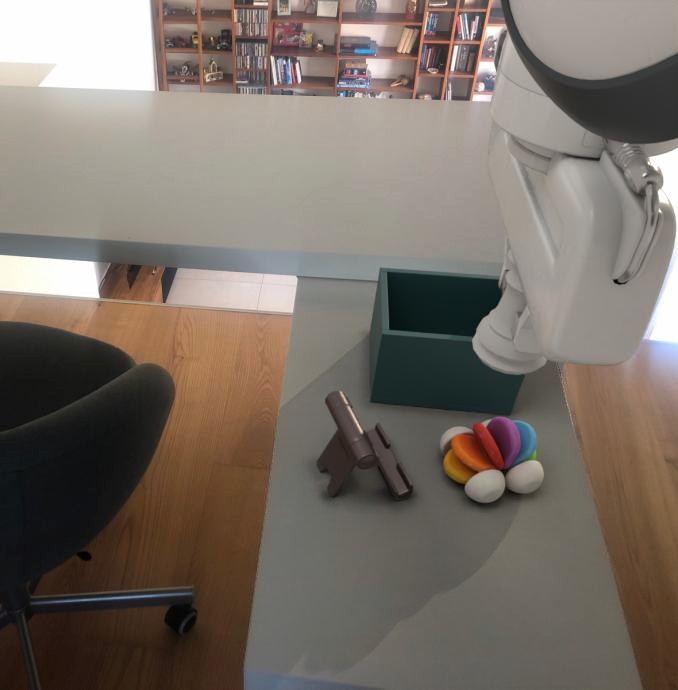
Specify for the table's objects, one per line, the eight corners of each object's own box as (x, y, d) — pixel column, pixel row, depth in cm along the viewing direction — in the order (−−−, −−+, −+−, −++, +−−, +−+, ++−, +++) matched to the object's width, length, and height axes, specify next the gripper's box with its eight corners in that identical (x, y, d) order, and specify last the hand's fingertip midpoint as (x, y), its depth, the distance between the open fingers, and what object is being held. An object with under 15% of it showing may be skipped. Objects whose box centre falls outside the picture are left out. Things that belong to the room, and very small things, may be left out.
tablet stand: (412, 499, 70) (427, 444, 64) (338, 515, 68) (347, 460, 63) (377, 436, 76) (388, 381, 71) (309, 449, 75) (315, 394, 70)
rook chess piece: (461, 332, 45) (490, 223, 39) (531, 330, 45) (568, 221, 39) (482, 379, 41) (516, 267, 36) (557, 377, 41) (602, 265, 36)
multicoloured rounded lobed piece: (423, 450, 74) (436, 403, 70) (505, 433, 76) (522, 385, 71) (463, 514, 68) (479, 467, 63) (550, 494, 70) (573, 446, 65)
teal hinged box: (370, 402, 80) (381, 333, 73) (369, 333, 90) (379, 267, 83) (510, 415, 78) (535, 346, 71) (494, 343, 88) (515, 276, 81)
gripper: (767, 195, 24) (625, 458, 33) (610, 23, 39) (542, 234, 48) (574, 186, 25) (487, 444, 34) (494, 21, 40) (449, 229, 49)
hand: (519, 319), depth 41 cm, fingers closed on rook chess piece, 3 cm apart
